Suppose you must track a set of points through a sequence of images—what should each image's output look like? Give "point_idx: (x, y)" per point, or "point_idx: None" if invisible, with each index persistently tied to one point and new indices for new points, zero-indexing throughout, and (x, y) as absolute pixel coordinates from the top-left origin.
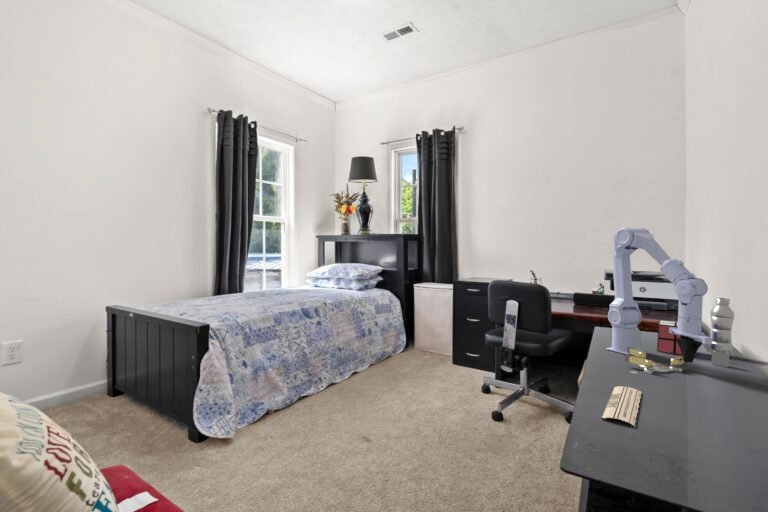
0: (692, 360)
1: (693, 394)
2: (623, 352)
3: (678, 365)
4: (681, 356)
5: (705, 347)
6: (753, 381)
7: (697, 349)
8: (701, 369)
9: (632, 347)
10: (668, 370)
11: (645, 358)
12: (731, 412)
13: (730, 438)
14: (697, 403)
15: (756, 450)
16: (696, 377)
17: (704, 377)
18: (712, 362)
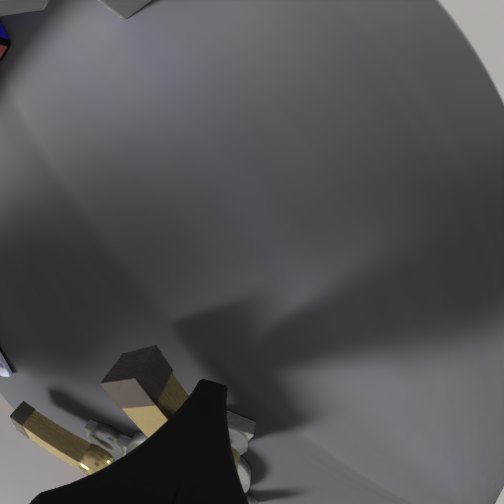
0: (225, 400)
1: (419, 494)
2: (2, 375)
3: (237, 453)
4: (136, 406)
5: (8, 9)
6: (500, 151)
7: (244, 499)
8: (219, 237)
9: (18, 425)
10: (246, 469)
11: (111, 456)
12: (486, 474)
13: (483, 498)
14: (438, 500)
15: (500, 488)
16: (347, 422)
17: (366, 388)
18: (121, 11)
